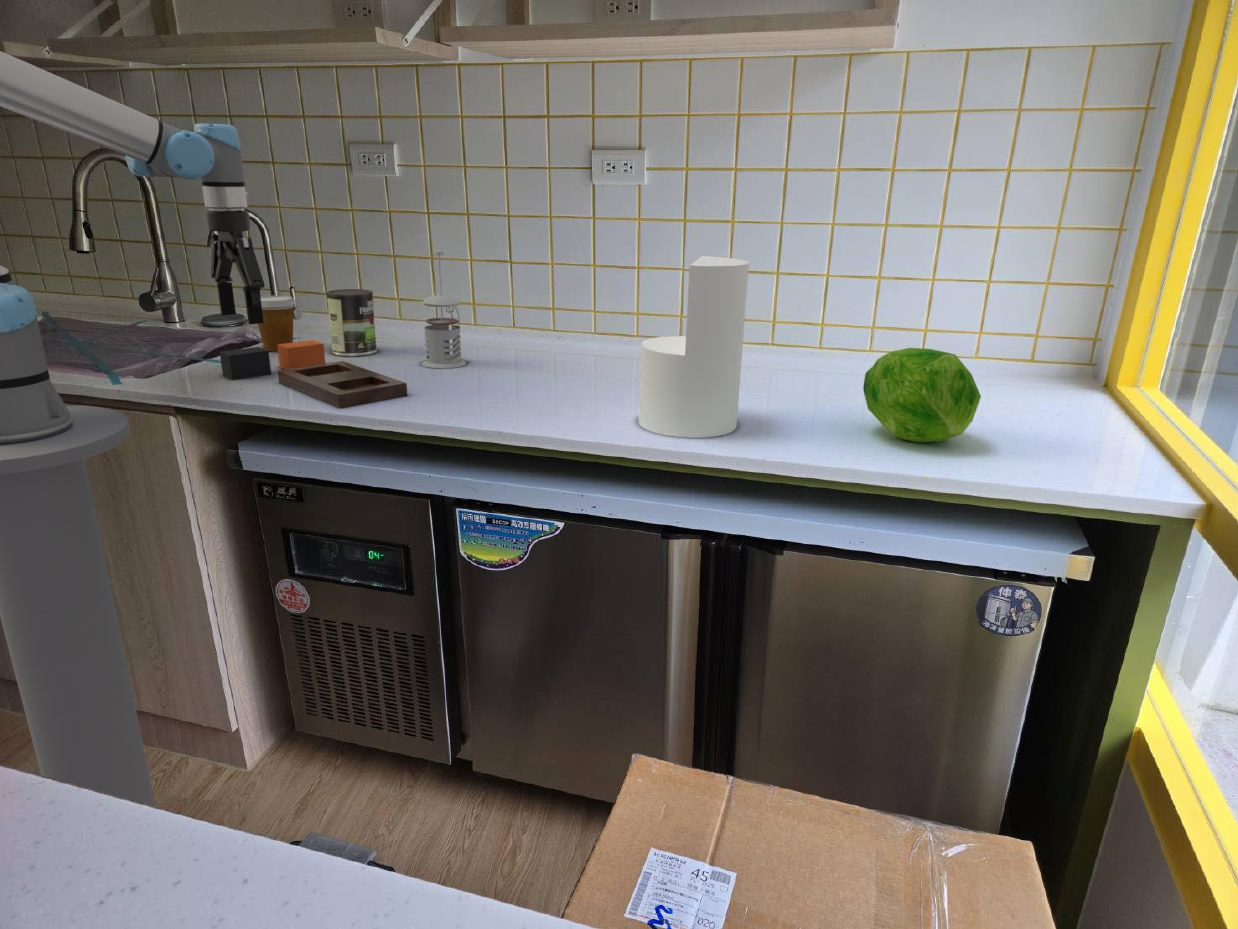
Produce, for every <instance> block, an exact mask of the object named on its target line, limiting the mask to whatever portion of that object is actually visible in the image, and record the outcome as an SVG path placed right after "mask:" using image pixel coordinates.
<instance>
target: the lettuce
mask: <svg viewBox="0 0 1238 929" xmlns="http://www.w3.org/2000/svg"><path fill="white" fill-rule="evenodd" d="M974 379H975V378H974V376H973V374H972V373H971V372H970V370H969V369H968V368H967V366H965V364H964V363H963V362H962V361H961V359H960V358H959V357H958V355H956V353H951V352H947V351H942V350H938V349H932V348H921V347H920V348H919V347H907V348H902V349H897V350H893V351H889V352H888V353H886V354H883V355H882V356H880V357H878V358H877V359H876V361H875V362H874V364H873V365H872V366H871V368H869V369H867V370H866V372H865V374H864V380H863V387H862V388H863V389H862V390H863V395H864V399H865V403H866V407H867V410H868V411H869V412H870V414H872V415H873V416H874V418H876V419H877V421H879V422H880V424H881V425H882V426H883V427H884V428H885V429H886V430H887V431H888V432H889V433H891V435H893V436H894V438H896V439H900V440H905V441H909V442H915V443H930V442H931V443H932V442H943V441H946V440H950V439H952V438H956V437H958V436H962V435H963V433H964V432H965V431H966V430H967V429H968V427H969V426H970V425H971V423H972V422H973V421H974V418H975V415H976V413H977V409H978V407H979V404H980V401H981V398H982V396H981V393H980V391H979V389H978V385H977V384H976V381H975V380H974Z"/></svg>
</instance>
